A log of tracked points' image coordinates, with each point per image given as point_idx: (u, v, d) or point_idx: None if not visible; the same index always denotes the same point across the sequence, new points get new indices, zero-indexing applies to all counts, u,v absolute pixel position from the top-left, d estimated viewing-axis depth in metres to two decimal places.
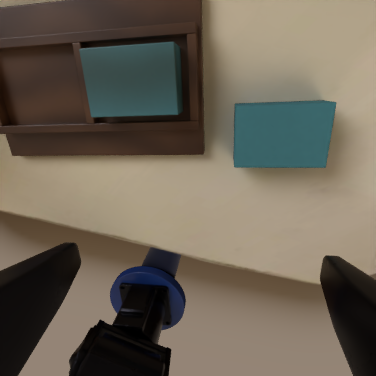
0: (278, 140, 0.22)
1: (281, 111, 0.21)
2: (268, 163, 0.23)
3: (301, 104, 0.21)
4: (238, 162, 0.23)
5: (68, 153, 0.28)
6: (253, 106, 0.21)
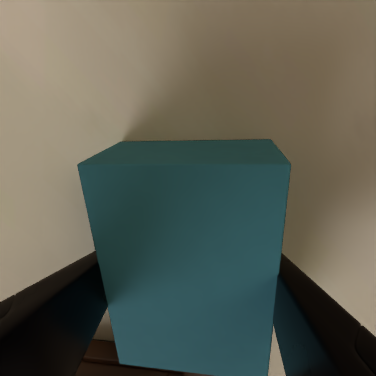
0: (195, 294, 0.08)
1: (118, 288, 0.08)
2: (261, 317, 0.08)
3: (96, 247, 0.08)
4: (253, 373, 0.09)
5: None
6: (116, 336, 0.09)
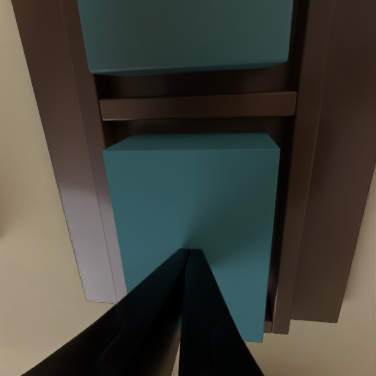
0: None
1: (134, 259, 0.10)
2: (256, 282, 0.09)
3: (116, 222, 0.09)
4: (250, 335, 0.10)
5: (361, 198, 0.10)
6: None
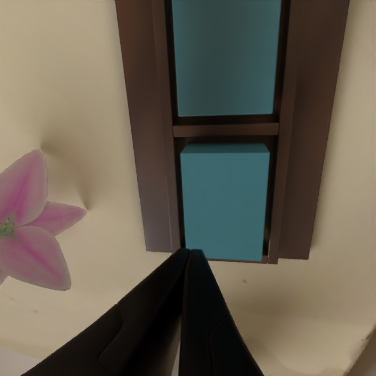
0: (228, 213, 0.17)
1: (191, 212, 0.18)
2: (258, 223, 0.17)
3: (183, 191, 0.17)
4: (254, 256, 0.18)
5: (318, 179, 0.18)
6: (186, 240, 0.18)
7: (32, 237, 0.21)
